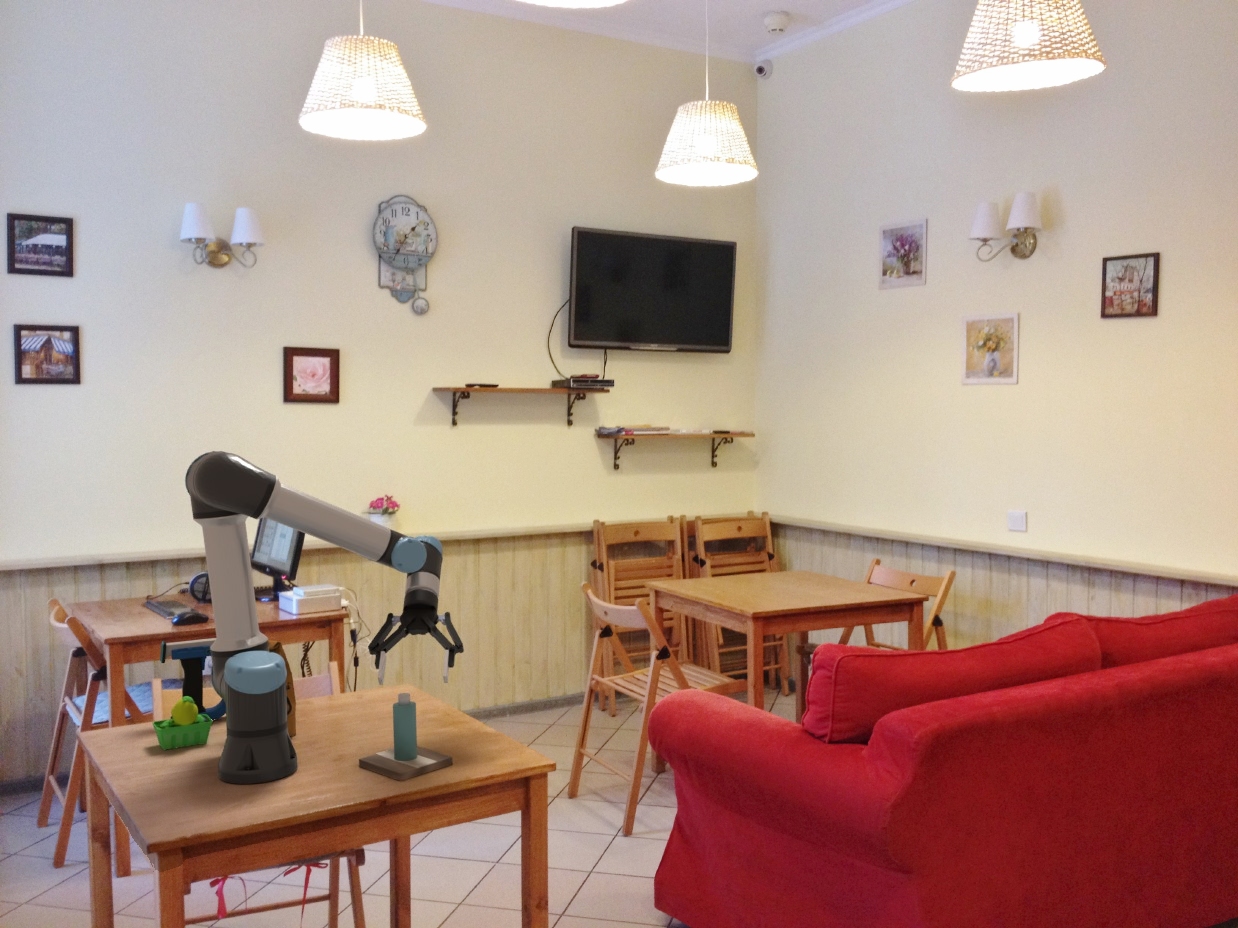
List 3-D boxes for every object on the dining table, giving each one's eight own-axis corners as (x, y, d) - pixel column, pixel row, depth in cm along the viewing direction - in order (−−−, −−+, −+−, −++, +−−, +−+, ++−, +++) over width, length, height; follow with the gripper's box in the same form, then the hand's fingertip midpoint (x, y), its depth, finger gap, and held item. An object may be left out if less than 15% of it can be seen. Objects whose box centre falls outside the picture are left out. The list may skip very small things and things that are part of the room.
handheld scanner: (162, 722, 250) (159, 640, 249) (234, 713, 257) (231, 634, 255) (162, 728, 246) (159, 644, 245) (235, 718, 253) (233, 637, 251)
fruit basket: (206, 735, 240) (205, 685, 239) (215, 745, 232) (213, 694, 232) (152, 744, 233) (150, 693, 233) (159, 754, 226) (158, 702, 225)
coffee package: (268, 745, 231) (265, 645, 230) (231, 737, 237) (228, 640, 237) (304, 733, 239) (301, 637, 238) (267, 726, 246) (264, 632, 245)
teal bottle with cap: (403, 762, 213) (401, 698, 212) (389, 757, 216) (388, 694, 215) (421, 756, 216) (420, 693, 216) (407, 752, 219) (406, 690, 219)
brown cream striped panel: (400, 780, 207) (400, 772, 207) (359, 766, 216) (358, 758, 216) (452, 764, 216) (452, 756, 216) (410, 750, 226) (410, 743, 226)
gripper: (478, 605, 240) (473, 688, 226) (368, 608, 239) (356, 690, 225) (476, 586, 235) (470, 669, 220) (362, 588, 234) (350, 672, 219)
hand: (412, 680), depth 223 cm, fingers open, 13 cm apart
